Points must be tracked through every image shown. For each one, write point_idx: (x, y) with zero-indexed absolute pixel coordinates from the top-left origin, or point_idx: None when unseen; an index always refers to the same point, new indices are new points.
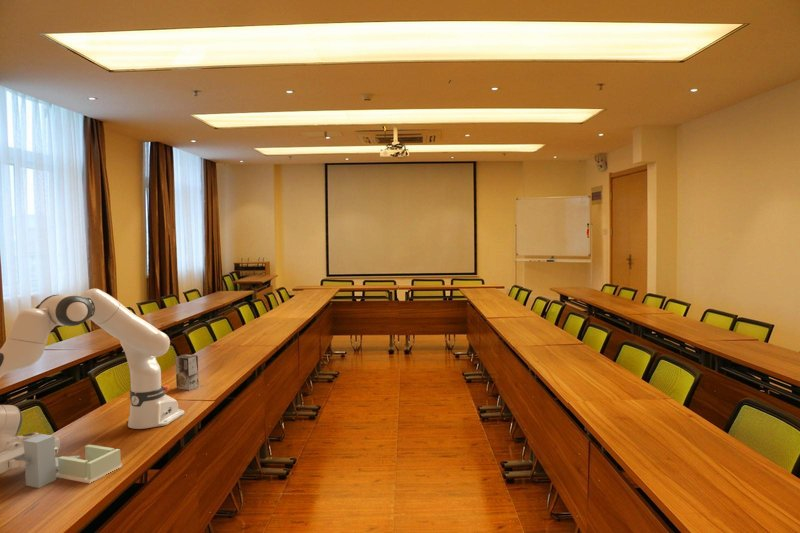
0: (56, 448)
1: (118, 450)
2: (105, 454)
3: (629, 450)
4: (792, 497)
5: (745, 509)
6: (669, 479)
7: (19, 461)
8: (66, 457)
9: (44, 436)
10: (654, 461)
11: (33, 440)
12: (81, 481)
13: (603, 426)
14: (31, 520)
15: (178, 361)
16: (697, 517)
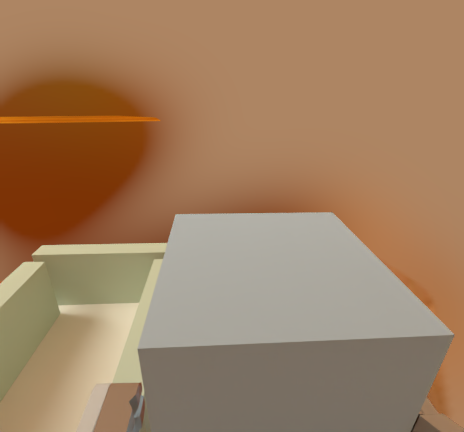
0: (110, 384)
1: (50, 246)
2: (91, 252)
3: (80, 121)
4: (133, 116)
5: (144, 118)
6: (118, 120)
7: (436, 411)
8: (129, 357)
9: (214, 251)
10: (96, 120)
11: (337, 250)
12: None
13: (36, 122)
14: None
15: None
16: (153, 120)
